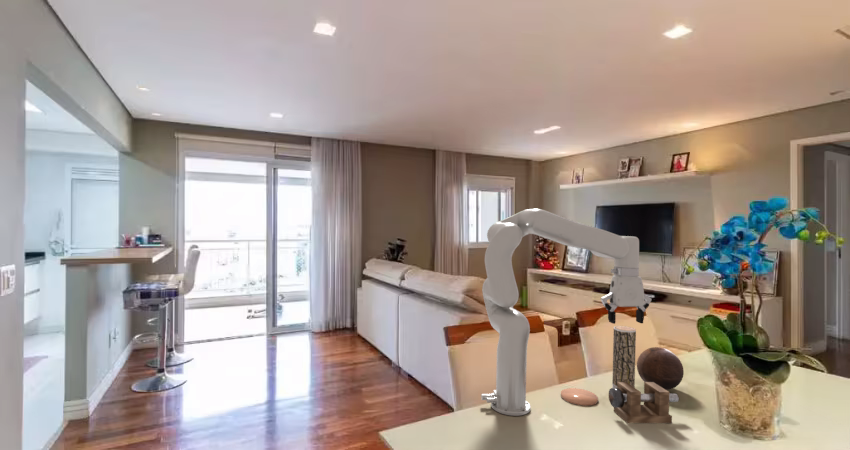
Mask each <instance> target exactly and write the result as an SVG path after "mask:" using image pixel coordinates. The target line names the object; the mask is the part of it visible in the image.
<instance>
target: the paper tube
mask: <svg viewBox="0 0 850 450" xmlns="http://www.w3.org/2000/svg"><path fill="white" fill-rule="evenodd" d="M636 330H637V329H636V328H634V327H631V326H627V325H615V326H613V341H612V342H613V345H612V346H613V347H612V384H611V385H612V387H611V388H617V382H627V383H629V384H630V385H631V386H633V387H634V388H636V387H635V386H636V385H635V381H636V380H635V379H636V378H635V377H636V343H637V342H636V341H637V339H636V338H637V337H636V336H637V331H636Z"/></svg>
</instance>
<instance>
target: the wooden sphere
mask: <svg viewBox="0 0 850 450" xmlns="http://www.w3.org/2000/svg"><path fill="white" fill-rule="evenodd" d="M636 369H637V373H638V376H639V377H640V379H641V380H642V381H643V383H644V382H654V383H656V384H657V385H659V386H660V387H662V388H664V389H665V390H667V391H669V390H672V389H675V388H676V387H678V386H679V385H680V384H681V382H683V381H682V380H683V377H684V366H683V364H682V361H681V360H680V358H679V357H678V356H677V355H676V354H675V353H674V352H673V351H671V350H669V349H667V348H664V347H663V348H662V347H660V346H658V347H657V346H655V347H649V348H647V349H644V350H643V351H642V352H641V353H640V355H638V358H637V361H636Z"/></svg>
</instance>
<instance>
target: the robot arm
mask: <svg viewBox="0 0 850 450" xmlns="http://www.w3.org/2000/svg"><path fill="white" fill-rule="evenodd" d="M530 234H531V235H535V236H538V237H541V238H544V239H546V240H549V241H550V240H551V241H553V242H555V243H559V244H560V245H563V246H564V245H565V246H566V247H567V246H568V247H572V248H577V249H584V250H589V251H590V253H592V254H593V256H596V257H597V258H598V257H599V258H603V259H604V258H605V259H613V260H614V265H613V266H614V267H613V268H611V269H610V273H611V274H613V275H612V277H611V279H610V280H611V281H610V286H609V293H608V294H605V295H604V296H601V297H600V302H601V303H602V306H603V307H604V308H605V309H606V310H607V320H608V322H609V323H611V324H614V325H615V324H616V322H617V321H616V317H617V315H616V314H617V313H616V311H615V310H617V308H618V307H620V308H636V310H635V321H636V322H637V323H639V324H644V320H645V312H646V310H647V309H648V308H649V307H650V304H651V302H652V297H650V296H648V295H646V294H645V291H644V283H643V278H642V276H639V275H640V239H639V238H638V237H637V236H633V235H632V236H631V235H630V236H629V235H627V236H626V235H619V234H616V233H613V232H610V231H607V230H605V229H601V228H599V227H596V226H592V225H587V224H586V223H583V222H579V221H574V220H573V219H569V218H567V217H563V216H561V215H558V214H556V213H554V212H550V211H548V210H545V209H541V208H529V209H528V208H527V209H524V210H521V211H519V212H517V213H515V214H513V215H511V216H509V217H506V218H504V219H501V220H499V221H496V222H495V223H493V224H492V225H491V226H489V228H488V230H487V233H486V237H487V241H488V242H489V243H488V245H487V247H486V250H485V252H484V266H485V267H484V268H485V271H486V276H487V277H486V278H485V280H484V281H483V283H482V289H481V291H482V296H483V300H484V301H483V302H484V304H485V305H484V306H485V310H486V314H487V317H488V321H489V323H490V325H491V327H492V329H493V330H495V331H496V332H497V333H498V334H499V336H498V342H497V345H496V346H497V347H496V377H495V379H496V380H495V383H496V384H495V389H493V392H491V393H481V395H480V397H481V398H480V399H481V401H486V403H488V404H489V403H490V407H491V408H492V409H493V410H494V411H496V412H497V413H499V414H502V415H505V416H510V417H511V416H515V417H518V416H524V415H527V414H529V413H530V412H531V404H530V402H528V401H527V400H526V399H527V357H528V356H527V355H528V343H529V338H530V333H531V332H530V331H531V329H530V328H531V327H530V326H531V325H530V322H529V319H528V318H527V317H526V316H525V314H523V313H522V312H521V311H519V310H517V309H516V308H514V306H515V305H516V304H517V302H518V300H519V288H518V285H517V282H516V277H515V273H514V268H513V263H512V261H513V260H512V257H513V255H514V252H515V250H516V249H517V247H518V246H520V244H521V242H522V239H523V237H525V236H528V235H530ZM608 301H609V303H608Z"/></svg>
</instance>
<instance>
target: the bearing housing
mask: <svg viewBox="0 0 850 450" xmlns="http://www.w3.org/2000/svg"><path fill="white" fill-rule="evenodd" d="M643 386H644V387H643V389H644V390H643V394H655V402H643V404H641V403H642V402H641V394H642V391H640V390H638V389H637V388H636V387H635V388H634V387H633V386H631V385H630V384H629V383H627V382H617V388H619V389H620V390H621V391H622V393H623V394H627V402H624V406H623V407H622V408H614V407H613V412H614V413H615V414H616V415H617V416H619V418H621V420H623V421H624V422H625V423H627V424H665V423H666V424H672V423H673V416H672V415H671V414H670V402H669V394H670V391H669V390H665V389H664V388H662V387H660V386H659V385H657V384H656V383H654V382H644V381H643Z"/></svg>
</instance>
